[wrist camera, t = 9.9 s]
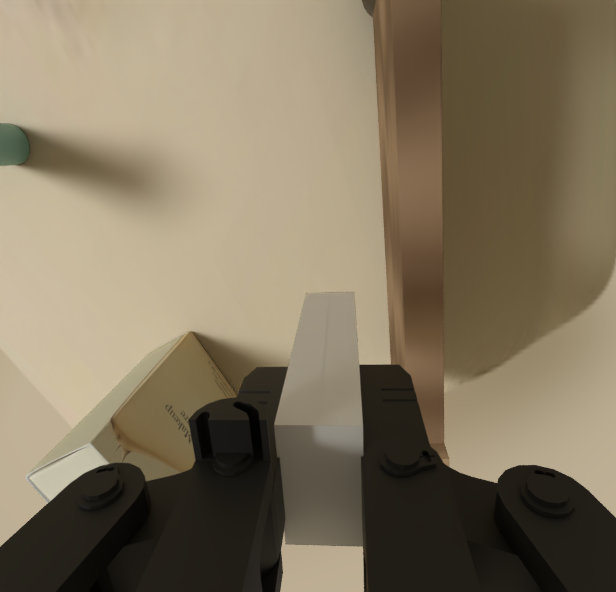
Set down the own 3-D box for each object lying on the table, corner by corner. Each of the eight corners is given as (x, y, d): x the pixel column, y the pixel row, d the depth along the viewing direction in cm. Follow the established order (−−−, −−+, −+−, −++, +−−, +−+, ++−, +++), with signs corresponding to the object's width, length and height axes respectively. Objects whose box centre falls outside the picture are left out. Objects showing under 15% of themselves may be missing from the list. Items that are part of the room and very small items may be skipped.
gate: (359, -32, 22) (374, -249, 10) (408, -40, 22) (486, -273, 9) (383, 363, 29) (407, 523, 17) (419, 361, 29) (471, 522, 17)
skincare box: (240, 396, 31) (178, 542, 20) (192, 420, 33) (107, 571, 21) (189, 326, 30) (91, 441, 18) (140, 354, 31) (19, 479, 20)
